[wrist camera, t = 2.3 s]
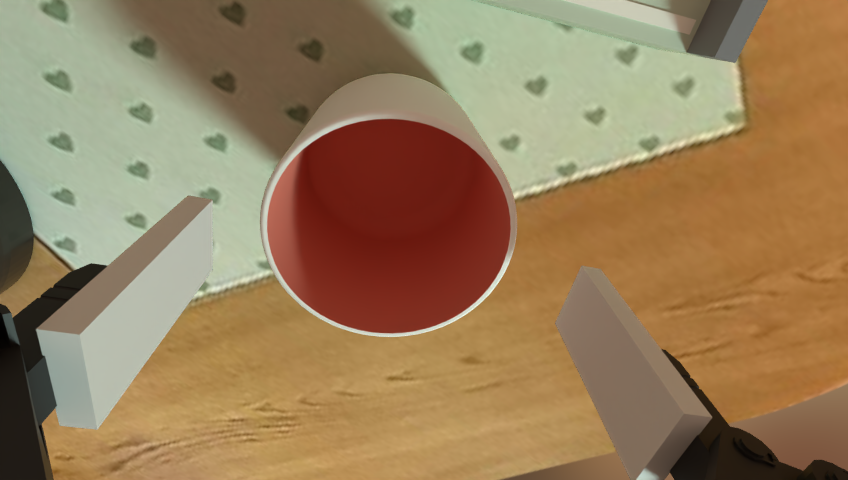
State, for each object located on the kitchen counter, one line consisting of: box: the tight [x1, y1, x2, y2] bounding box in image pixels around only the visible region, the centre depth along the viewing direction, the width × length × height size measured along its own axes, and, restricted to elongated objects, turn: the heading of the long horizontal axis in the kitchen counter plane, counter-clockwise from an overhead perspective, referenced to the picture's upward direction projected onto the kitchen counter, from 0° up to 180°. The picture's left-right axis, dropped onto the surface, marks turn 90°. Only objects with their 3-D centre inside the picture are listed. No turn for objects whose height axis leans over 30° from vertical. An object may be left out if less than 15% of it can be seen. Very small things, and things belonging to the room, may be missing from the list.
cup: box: [260, 73, 517, 337], centre depth 21 cm, size 10×10×10 cm
